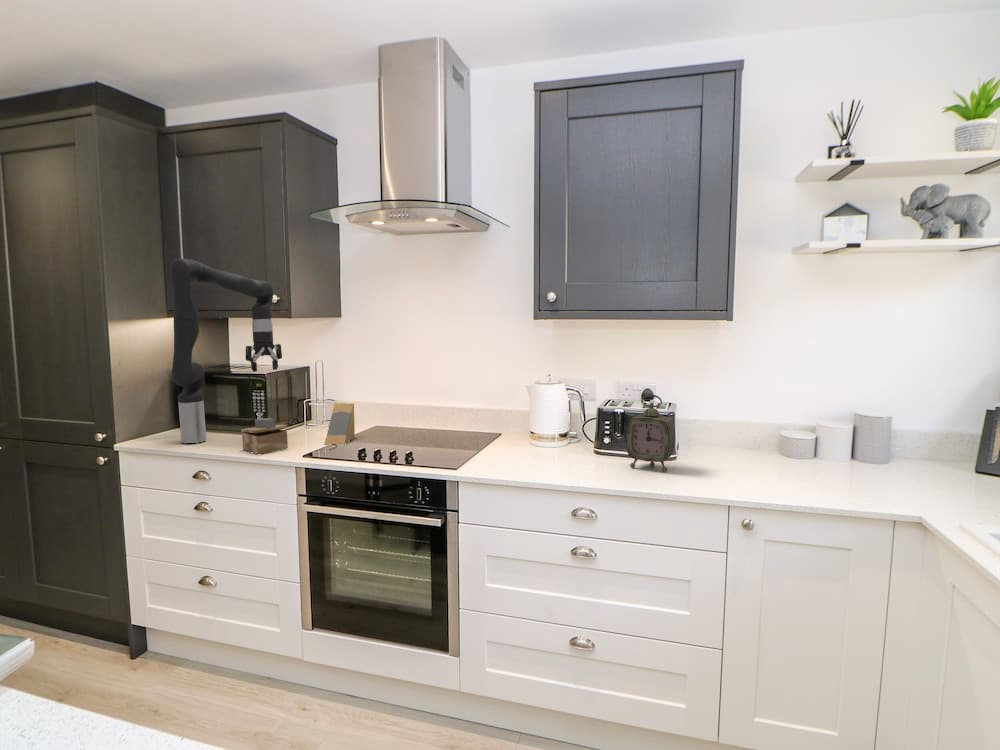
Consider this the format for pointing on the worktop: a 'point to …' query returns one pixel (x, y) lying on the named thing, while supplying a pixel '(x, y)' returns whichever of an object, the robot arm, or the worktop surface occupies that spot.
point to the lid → (262, 429)
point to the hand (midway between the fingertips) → (265, 370)
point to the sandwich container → (341, 424)
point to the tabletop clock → (650, 436)
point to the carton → (265, 441)
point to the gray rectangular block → (264, 423)
